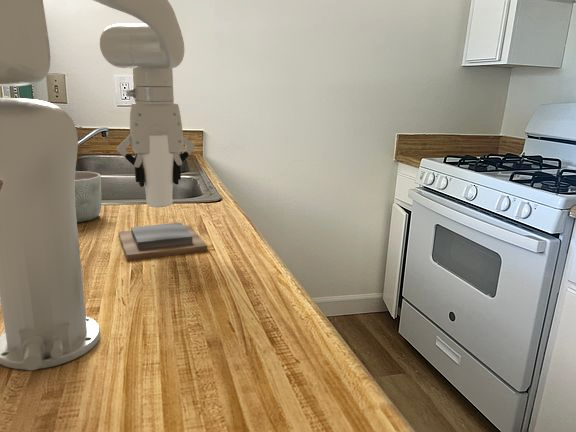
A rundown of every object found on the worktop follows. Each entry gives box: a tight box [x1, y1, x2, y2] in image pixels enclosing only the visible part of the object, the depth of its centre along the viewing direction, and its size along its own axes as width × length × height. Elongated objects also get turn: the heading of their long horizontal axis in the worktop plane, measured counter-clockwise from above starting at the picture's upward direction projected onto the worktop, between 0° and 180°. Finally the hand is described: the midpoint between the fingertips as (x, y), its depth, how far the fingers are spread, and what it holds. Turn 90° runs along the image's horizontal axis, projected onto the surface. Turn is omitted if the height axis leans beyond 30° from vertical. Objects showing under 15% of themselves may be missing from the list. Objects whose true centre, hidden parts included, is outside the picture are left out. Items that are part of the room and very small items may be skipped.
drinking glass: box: [141, 135, 174, 209], centre depth 99 cm, size 7×7×15 cm
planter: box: [75, 170, 102, 223], centre depth 119 cm, size 12×12×11 cm
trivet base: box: [117, 222, 208, 262], centre depth 103 cm, size 16×16×3 cm
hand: (158, 183), depth 100 cm, fingers closed on drinking glass, 6 cm apart
